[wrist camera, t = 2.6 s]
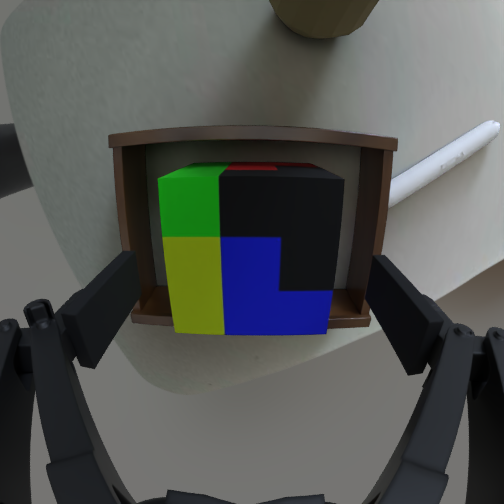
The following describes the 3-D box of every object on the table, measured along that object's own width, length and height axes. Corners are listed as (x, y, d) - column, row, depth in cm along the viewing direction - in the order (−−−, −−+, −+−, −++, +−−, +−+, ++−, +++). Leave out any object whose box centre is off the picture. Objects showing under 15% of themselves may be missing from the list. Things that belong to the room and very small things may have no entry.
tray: (150, 293, 29) (132, 323, 24) (135, 134, 23) (108, 134, 18) (352, 296, 29) (369, 326, 24) (370, 137, 23) (398, 138, 18)
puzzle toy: (304, 270, 28) (326, 334, 19) (199, 269, 28) (175, 332, 19) (310, 163, 24) (344, 179, 15) (194, 163, 24) (157, 178, 15)
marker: (490, 114, 21) (504, 115, 19) (496, 131, 22) (510, 133, 20) (373, 186, 25) (383, 191, 23) (382, 206, 25) (392, 212, 23)
